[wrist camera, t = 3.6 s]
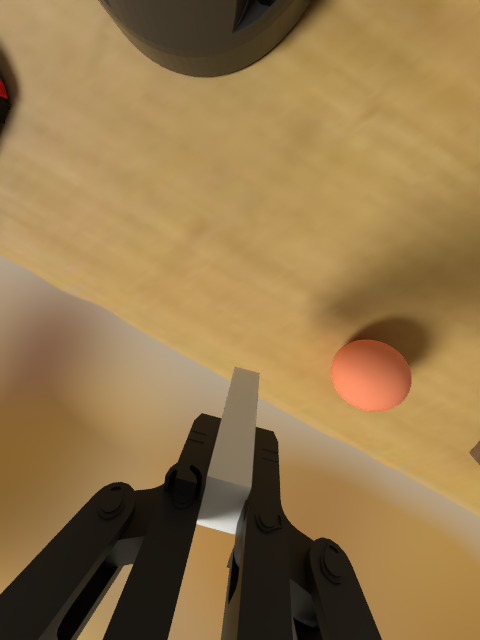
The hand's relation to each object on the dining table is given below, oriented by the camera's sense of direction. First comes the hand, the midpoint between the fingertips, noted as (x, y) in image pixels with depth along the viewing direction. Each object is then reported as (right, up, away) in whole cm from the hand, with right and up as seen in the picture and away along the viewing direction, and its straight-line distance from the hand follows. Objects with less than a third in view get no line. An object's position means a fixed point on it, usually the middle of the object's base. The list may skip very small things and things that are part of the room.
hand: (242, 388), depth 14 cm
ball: (+10, 0, +4) cm, 11 cm away
